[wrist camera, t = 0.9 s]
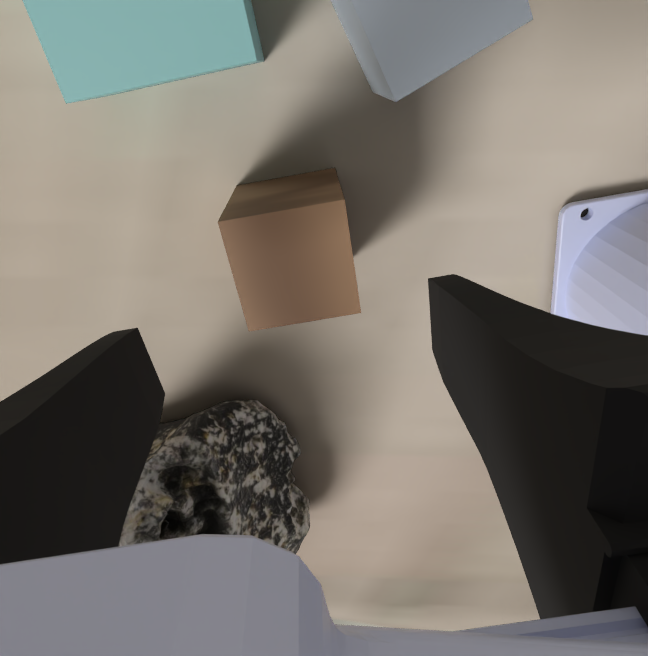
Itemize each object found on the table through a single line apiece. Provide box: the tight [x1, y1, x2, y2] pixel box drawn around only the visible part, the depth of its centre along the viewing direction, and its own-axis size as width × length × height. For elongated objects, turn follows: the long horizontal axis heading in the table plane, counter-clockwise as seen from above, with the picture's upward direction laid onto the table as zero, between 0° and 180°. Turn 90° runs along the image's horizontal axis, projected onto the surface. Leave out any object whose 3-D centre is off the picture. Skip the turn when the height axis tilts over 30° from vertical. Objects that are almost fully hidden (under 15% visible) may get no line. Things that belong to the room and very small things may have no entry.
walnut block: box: [218, 168, 361, 331], centre depth 18 cm, size 4×4×5 cm
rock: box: [118, 400, 310, 554], centre depth 25 cm, size 13×10×10 cm
